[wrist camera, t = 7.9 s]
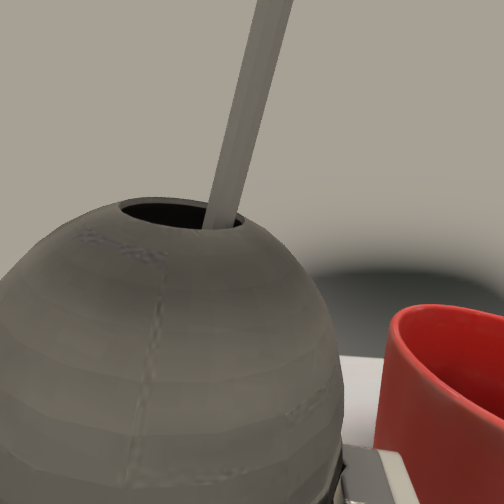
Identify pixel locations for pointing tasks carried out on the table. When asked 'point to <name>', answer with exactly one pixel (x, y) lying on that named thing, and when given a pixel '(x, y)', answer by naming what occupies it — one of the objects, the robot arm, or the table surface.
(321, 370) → the beverage cup
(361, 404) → the table surface
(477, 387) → the flower pot
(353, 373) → the table surface
